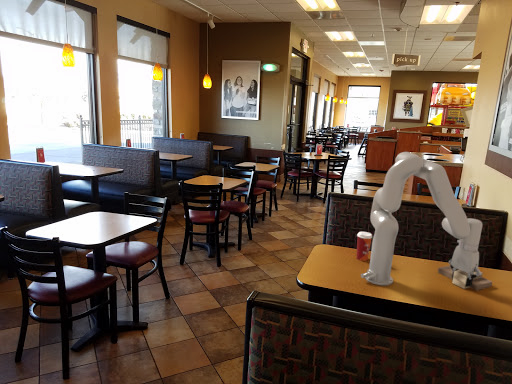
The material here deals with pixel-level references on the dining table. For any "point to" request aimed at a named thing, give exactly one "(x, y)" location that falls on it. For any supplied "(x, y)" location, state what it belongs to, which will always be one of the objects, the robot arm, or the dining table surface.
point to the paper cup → (363, 245)
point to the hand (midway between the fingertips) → (461, 282)
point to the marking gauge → (461, 278)
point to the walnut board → (477, 282)
